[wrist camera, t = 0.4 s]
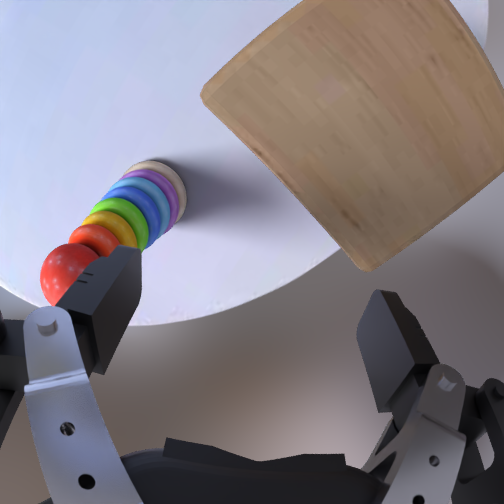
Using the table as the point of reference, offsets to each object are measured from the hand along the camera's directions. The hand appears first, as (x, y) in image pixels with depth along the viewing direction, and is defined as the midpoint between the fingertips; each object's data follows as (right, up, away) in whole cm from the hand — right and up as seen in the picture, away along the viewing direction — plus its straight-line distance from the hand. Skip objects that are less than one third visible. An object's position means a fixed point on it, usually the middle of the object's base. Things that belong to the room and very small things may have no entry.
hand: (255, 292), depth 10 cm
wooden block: (+7, +17, +16) cm, 24 cm away
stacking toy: (-11, +8, +23) cm, 27 cm away
